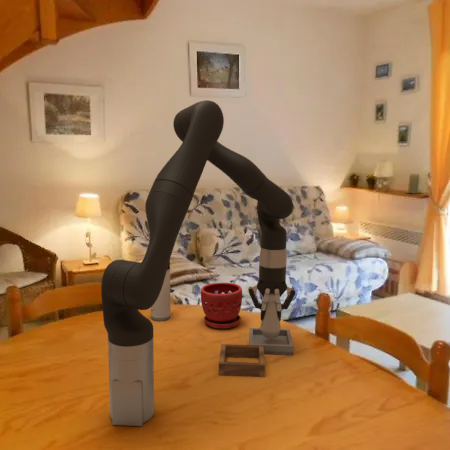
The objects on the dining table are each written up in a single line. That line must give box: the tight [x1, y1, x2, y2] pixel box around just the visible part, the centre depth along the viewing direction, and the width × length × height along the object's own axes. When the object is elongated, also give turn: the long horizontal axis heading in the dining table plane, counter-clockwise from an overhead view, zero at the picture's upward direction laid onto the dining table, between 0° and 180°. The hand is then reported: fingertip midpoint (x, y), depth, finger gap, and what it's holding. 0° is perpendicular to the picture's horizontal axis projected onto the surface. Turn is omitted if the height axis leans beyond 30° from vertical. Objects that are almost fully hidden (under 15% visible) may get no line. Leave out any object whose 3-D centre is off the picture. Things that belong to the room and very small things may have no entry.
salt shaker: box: [259, 294, 282, 339], centre depth 134 cm, size 6×6×13 cm
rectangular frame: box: [218, 343, 266, 377], centre depth 123 cm, size 11×11×3 cm
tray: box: [248, 327, 294, 356], centre depth 136 cm, size 12×12×2 cm
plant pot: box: [200, 282, 243, 329], centre depth 150 cm, size 13×13×12 cm
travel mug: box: [150, 260, 171, 322], centre depth 153 cm, size 6×7×20 cm
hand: (270, 321), depth 135 cm, fingers closed on salt shaker, 3 cm apart
